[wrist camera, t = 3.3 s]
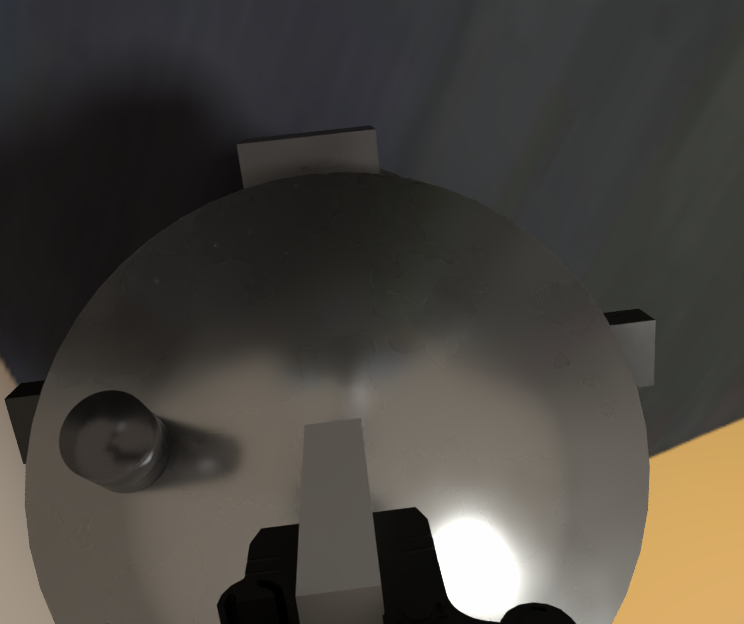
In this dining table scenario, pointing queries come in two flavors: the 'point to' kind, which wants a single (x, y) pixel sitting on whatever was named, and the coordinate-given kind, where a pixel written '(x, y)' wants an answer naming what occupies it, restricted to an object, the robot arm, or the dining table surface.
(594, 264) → the dining table surface
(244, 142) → the steel pot
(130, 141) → the dining table surface
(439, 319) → the pot lid
